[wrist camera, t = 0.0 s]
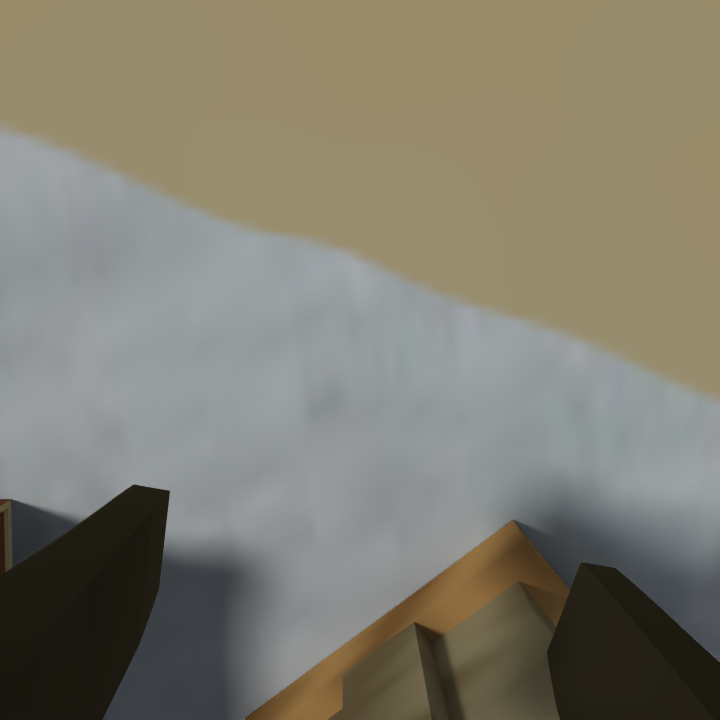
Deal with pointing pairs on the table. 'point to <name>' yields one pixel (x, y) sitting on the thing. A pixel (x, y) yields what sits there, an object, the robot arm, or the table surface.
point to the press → (447, 648)
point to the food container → (5, 535)
